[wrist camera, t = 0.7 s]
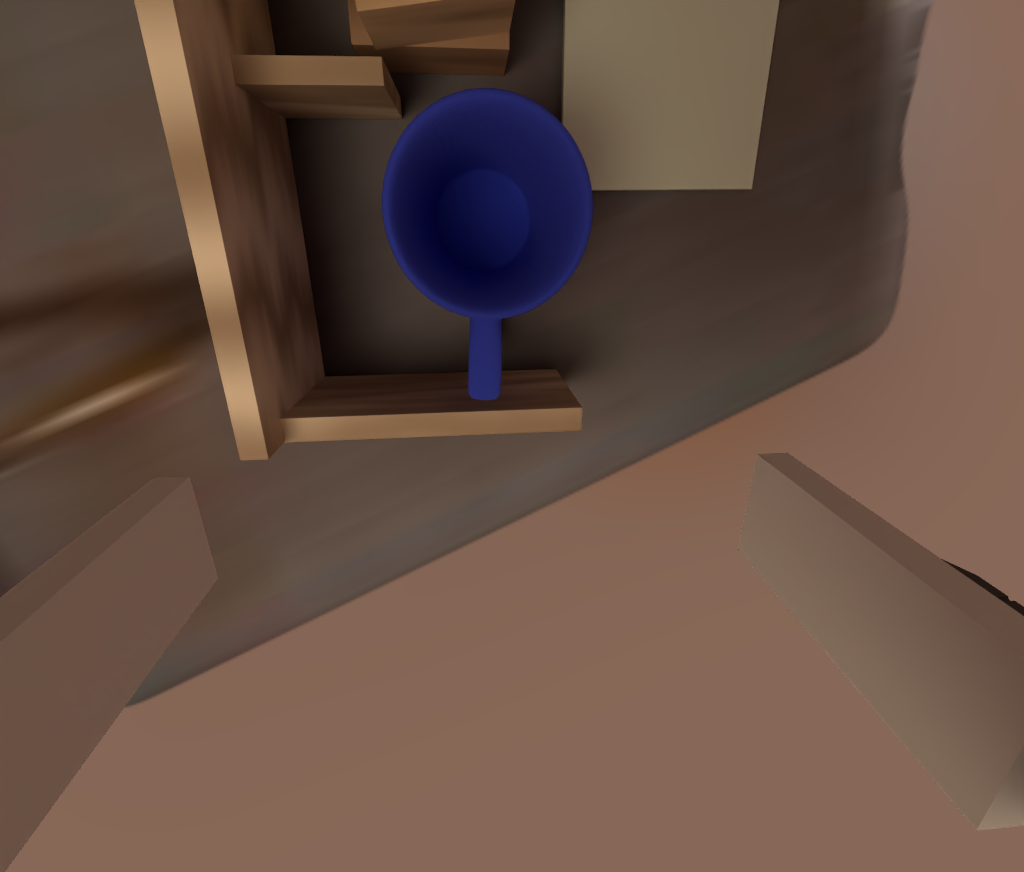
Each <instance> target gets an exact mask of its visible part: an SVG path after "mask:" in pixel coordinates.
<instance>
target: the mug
mask: <svg viewBox="0 0 1024 872" xmlns="http://www.w3.org/2000/svg"><path fill="white" fill-rule="evenodd" d="M382 212H383V221H384V226H385V231H386V235H387V238H388V241H389V244H390V247H391V249H392V252H393V254H394V256H395V258H396V260H397V262H398V264H399V266H400V267H401V269H402V270H403V272H404V273H405V275H406V276H407V277H408V279H409V280H410V281H411V282H412V283H413V284H414V285H415V287H416V288H417V289H418V290H419V291H421V292H422V293H423V294H424V295H425V296H426V297H427V298H429V299H430V300H432V301H433V302H435V303H436V304H438V305H439V306H441V307H443V308H445V309H447V310H449V311H451V312H454V313H456V314H459V315H462V316H466V317H470V339H469V369H468V393H469V395H470V397H472V398H473V399H477V400H493V399H496V398H498V397H499V395H500V392H501V374H502V319H504V318H509V317H513V316H517V315H520V314H523V313H526V312H528V311H530V310H532V309H534V308H536V307H538V306H540V305H541V304H543V303H544V302H546V301H547V300H549V299H550V298H551V297H552V296H553V295H555V294H556V293H557V292H558V291H559V290H560V289H561V288H562V287H563V286H564V285H565V284H566V282H567V281H568V280H569V278H570V277H571V276H572V274H573V273H574V271H575V269H576V268H577V266H578V264H579V262H580V260H581V258H582V256H583V254H584V251H585V249H586V246H587V243H588V239H589V235H590V231H591V225H592V216H593V196H592V187H591V182H590V177H589V173H588V170H587V167H586V164H585V161H584V158H583V156H582V154H581V152H580V150H579V148H578V146H577V144H576V142H575V141H574V139H573V137H572V136H571V134H570V133H569V132H568V130H567V129H566V128H565V127H564V125H563V124H562V123H561V122H560V121H559V120H558V119H557V118H556V117H555V116H554V115H553V114H552V113H550V112H549V111H548V110H547V109H545V108H544V107H543V106H541V105H540V104H538V103H536V102H535V101H533V100H531V99H529V98H527V97H525V96H522V95H520V94H517V93H514V92H511V91H507V90H502V89H495V88H476V89H468V90H463V91H460V92H456V93H453V94H451V95H448V96H445V97H443V98H441V99H439V100H438V101H436V102H434V103H433V104H431V105H430V106H428V107H427V108H426V109H425V110H423V111H422V112H421V113H420V114H418V115H417V116H416V118H415V119H414V120H413V121H412V122H411V123H410V124H409V125H408V126H407V128H406V129H405V130H404V132H403V133H402V135H401V136H400V138H399V140H398V142H397V143H396V145H395V147H394V149H393V151H392V153H391V156H390V159H389V161H388V164H387V168H386V172H385V176H384V182H383V191H382Z"/></svg>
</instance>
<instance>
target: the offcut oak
mask: <svg viewBox="0 0 1024 872" xmlns="http://www.w3.org/2000/svg"><path fill="white" fill-rule="evenodd" d="M355 2H356V7H357V12H358V14H359V16H360V18H361V20H362V22H363V24H364V26H365V28H366V30H367V33H368V35H369V37H370V39H371V41H372V43H373V45H374V47H375V49H376V50H380V49H388V48H395V47H403V46H410V45H418V44H425V43H433V42H440V41H447V40H455V39H462V38H470V37H477V36H485V35H492V34H500V33H507V32H509V31H510V26H511V20H512V15H513V10H514V5H515V0H355Z"/></svg>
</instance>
